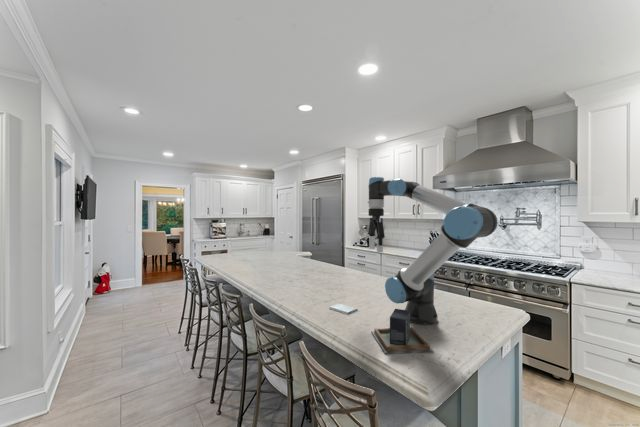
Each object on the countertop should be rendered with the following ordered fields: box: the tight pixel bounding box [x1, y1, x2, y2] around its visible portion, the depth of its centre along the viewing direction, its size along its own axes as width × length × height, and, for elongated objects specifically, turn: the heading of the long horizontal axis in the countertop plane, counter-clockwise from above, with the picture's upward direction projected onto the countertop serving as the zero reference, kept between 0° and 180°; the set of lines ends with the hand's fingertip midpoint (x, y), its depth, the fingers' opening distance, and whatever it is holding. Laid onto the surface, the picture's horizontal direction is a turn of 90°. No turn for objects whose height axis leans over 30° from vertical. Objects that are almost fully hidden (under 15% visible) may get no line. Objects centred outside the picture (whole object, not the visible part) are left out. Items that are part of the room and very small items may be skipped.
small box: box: [389, 308, 411, 345], centre depth 109 cm, size 11×6×10 cm, turn 154°
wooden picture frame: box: [370, 327, 435, 355], centre depth 109 cm, size 18×18×2 cm
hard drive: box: [328, 303, 358, 315], centre depth 145 cm, size 2×8×12 cm
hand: (375, 250), depth 140 cm, fingers open, 13 cm apart
